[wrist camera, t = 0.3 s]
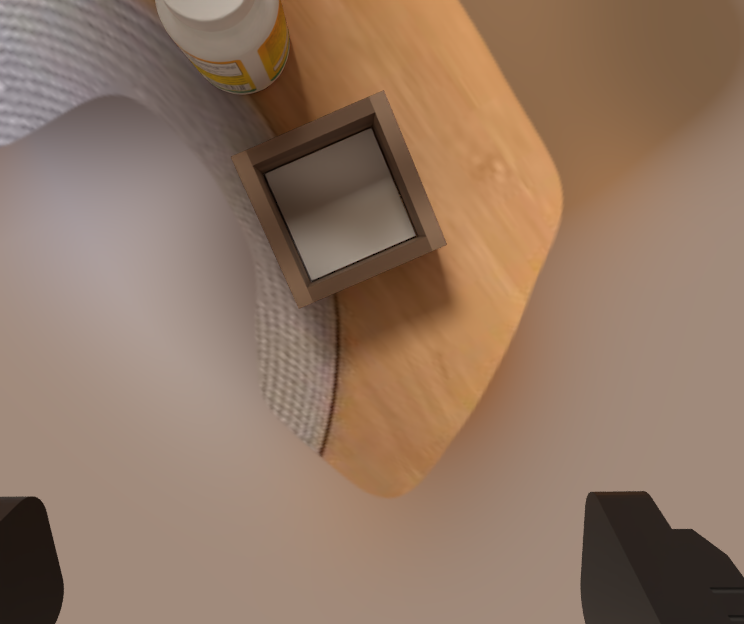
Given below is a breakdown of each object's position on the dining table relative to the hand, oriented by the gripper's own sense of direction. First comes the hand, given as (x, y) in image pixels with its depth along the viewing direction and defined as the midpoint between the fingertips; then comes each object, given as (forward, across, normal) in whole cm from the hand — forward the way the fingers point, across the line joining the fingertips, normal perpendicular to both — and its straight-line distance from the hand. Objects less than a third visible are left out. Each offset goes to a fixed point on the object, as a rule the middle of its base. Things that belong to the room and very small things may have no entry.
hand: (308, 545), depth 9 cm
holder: (+27, +2, -1) cm, 27 cm away
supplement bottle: (+28, +7, -10) cm, 31 cm away
